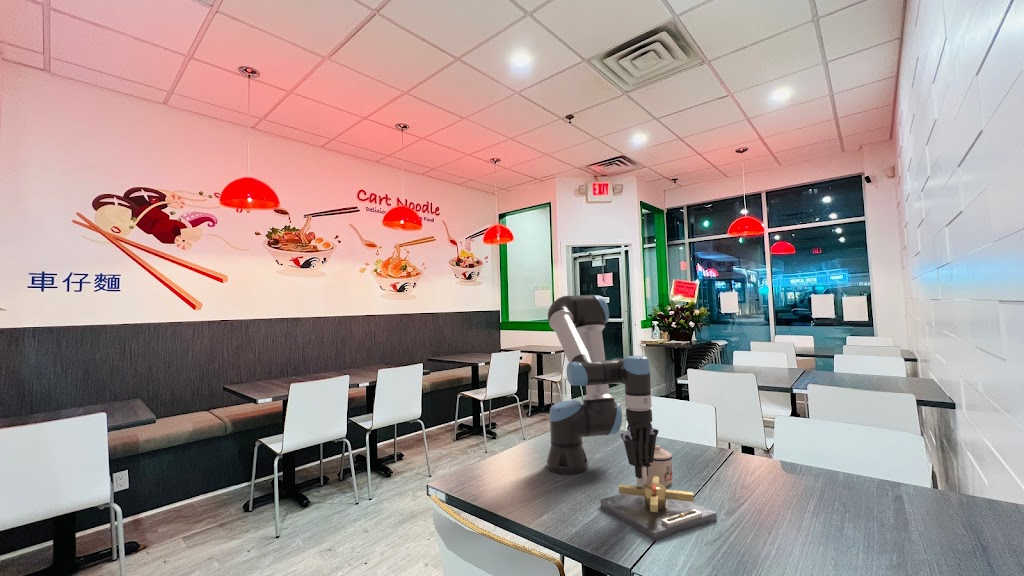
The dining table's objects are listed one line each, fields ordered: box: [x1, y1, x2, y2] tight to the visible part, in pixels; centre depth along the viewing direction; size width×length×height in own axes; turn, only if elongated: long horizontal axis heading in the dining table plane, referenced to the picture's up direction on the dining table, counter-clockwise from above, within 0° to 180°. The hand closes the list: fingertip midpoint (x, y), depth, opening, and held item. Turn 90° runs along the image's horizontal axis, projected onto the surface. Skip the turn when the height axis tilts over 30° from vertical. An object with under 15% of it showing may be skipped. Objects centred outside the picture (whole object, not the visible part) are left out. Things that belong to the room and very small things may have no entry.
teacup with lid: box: [647, 444, 674, 487], centre depth 146 cm, size 12×9×12 cm
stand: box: [600, 488, 717, 542], centre depth 122 cm, size 22×22×4 cm
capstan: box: [618, 476, 695, 512], centre depth 123 cm, size 20×20×6 cm
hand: (642, 488), depth 129 cm, fingers closed
